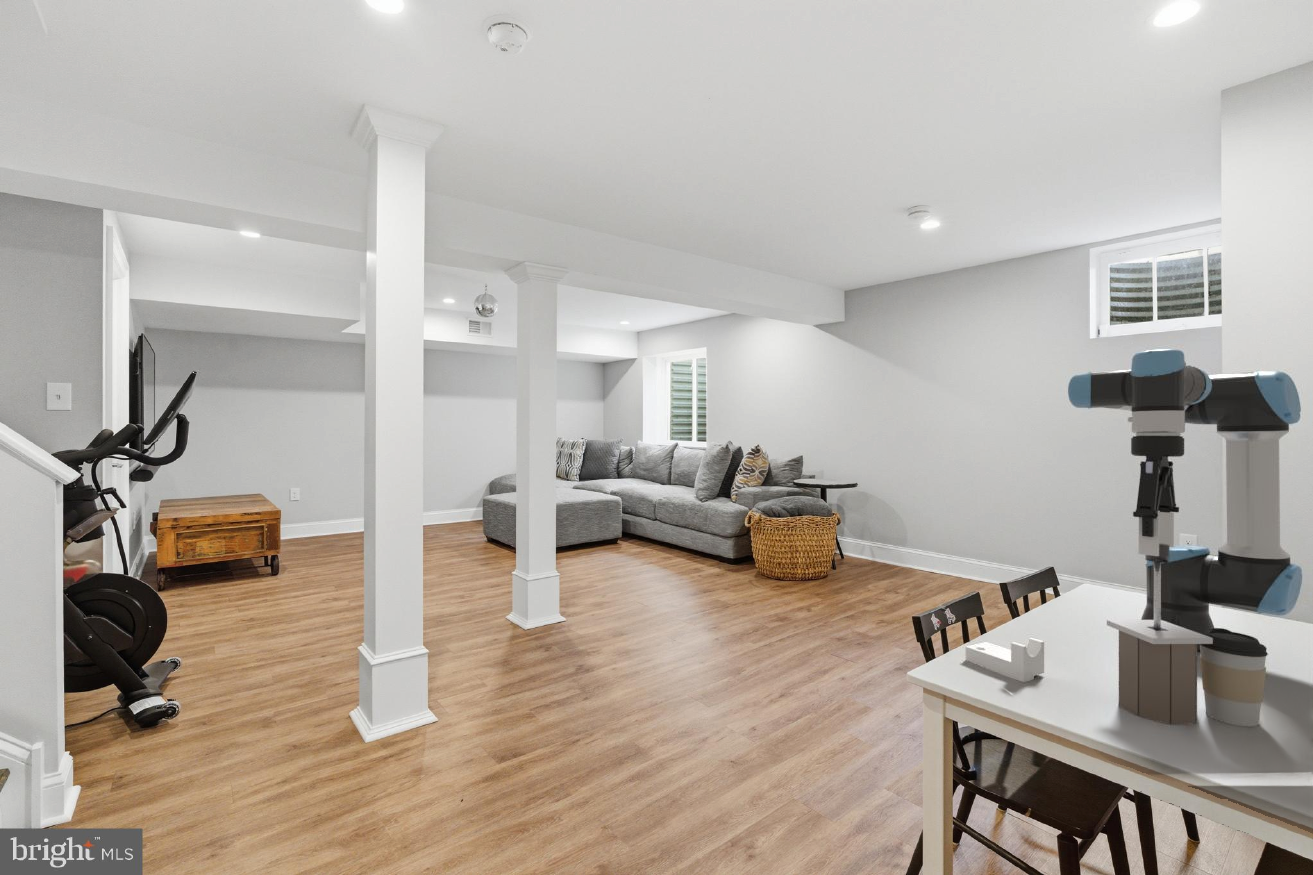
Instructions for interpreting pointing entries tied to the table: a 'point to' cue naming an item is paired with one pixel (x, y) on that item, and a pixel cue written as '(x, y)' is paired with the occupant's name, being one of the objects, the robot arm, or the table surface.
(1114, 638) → the table surface
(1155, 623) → the plunger
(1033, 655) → the bracket
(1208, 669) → the coffee cup
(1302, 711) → the table surface
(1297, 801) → the table surface
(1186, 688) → the brown pedestal
